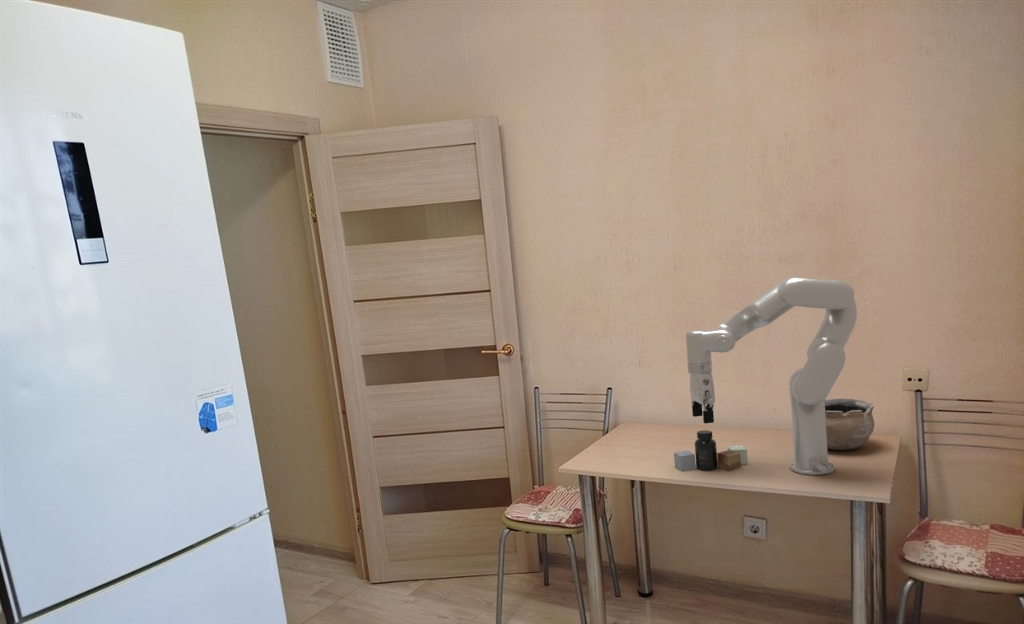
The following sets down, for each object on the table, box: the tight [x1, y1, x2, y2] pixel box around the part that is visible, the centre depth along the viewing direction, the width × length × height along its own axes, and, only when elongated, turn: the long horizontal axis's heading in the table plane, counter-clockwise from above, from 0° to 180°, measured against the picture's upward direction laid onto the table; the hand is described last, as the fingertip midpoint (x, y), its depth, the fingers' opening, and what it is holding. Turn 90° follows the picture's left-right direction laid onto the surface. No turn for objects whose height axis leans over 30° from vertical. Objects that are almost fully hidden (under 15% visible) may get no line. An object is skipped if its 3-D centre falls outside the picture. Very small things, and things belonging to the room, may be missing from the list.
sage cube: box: [727, 444, 749, 465], centre depth 213 cm, size 5×5×5 cm
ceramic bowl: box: [824, 398, 875, 451], centre depth 219 cm, size 22×22×15 cm
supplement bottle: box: [694, 429, 718, 472], centre depth 209 cm, size 7×7×12 cm
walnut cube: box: [717, 449, 742, 472], centre depth 208 cm, size 5×5×5 cm
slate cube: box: [673, 449, 697, 472], centre depth 212 cm, size 5×5×5 cm
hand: (703, 419), depth 209 cm, fingers open, 9 cm apart
